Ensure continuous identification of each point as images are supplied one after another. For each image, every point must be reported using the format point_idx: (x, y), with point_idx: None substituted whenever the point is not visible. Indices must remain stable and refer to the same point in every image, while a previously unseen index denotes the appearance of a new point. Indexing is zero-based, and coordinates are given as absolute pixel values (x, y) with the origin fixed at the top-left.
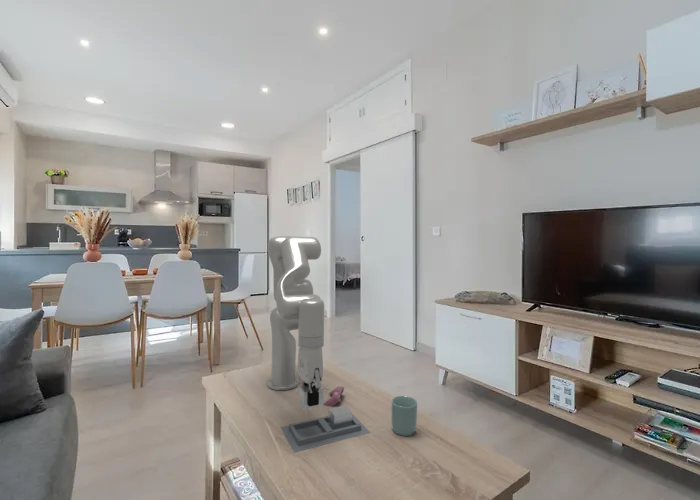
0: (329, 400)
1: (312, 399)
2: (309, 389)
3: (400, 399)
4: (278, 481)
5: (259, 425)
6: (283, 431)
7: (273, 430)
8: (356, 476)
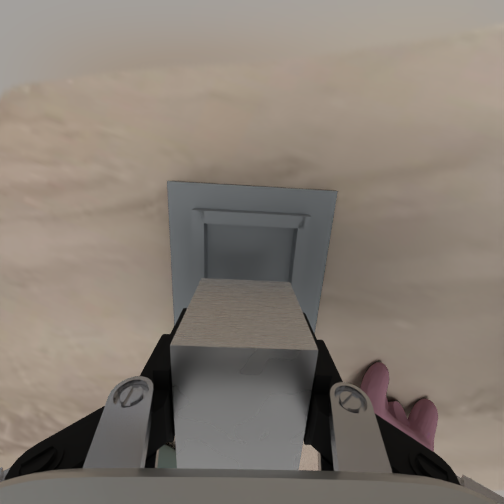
0: (378, 392)
1: (154, 353)
2: (137, 404)
3: None
4: (60, 88)
5: (411, 127)
6: (303, 191)
7: (347, 167)
8: (30, 297)
